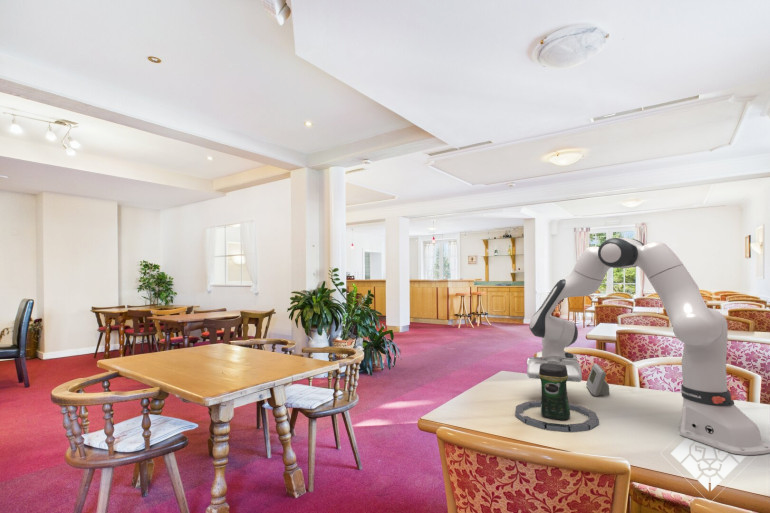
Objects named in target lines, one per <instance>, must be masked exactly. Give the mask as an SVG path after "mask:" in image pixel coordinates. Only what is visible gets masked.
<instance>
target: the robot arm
mask: <svg viewBox="0 0 770 513" xmlns="http://www.w3.org/2000/svg"><path fill="white" fill-rule="evenodd" d="M636 267H637V268H640V270H641V271H642V272H643V273H644V275H645V276H646V278H647V279H648V282H649V283H650V285H651V286H652V288H653V290H654V291H655V292H656V294H657V295H658V298H659V299H660V301H661V303H662V306H663V308H664V309H665V312H666V316H667V317H668V320H669V322H670V324H671V326H672V332H673V334H674V336H675V337H676V338H677V340H679V341H680V342H681V343H683V351H682V358H681V373H682V384H681V389H680V390H681V391H680V392H681V397H682V398H683V400H682V411H681V419H680V424H679V427H678V428H679V435H680V436H681V437H685V438H688V439H689V440H690V439H691V440H692V441H696V442H698V443H702V444H705V445H707V446H710V447H713V448H715V449H719V450H722V451H725V452H727V453H730V454H733V455H735V454H736V455H743V456H755V455H756V456H757V455H765V454H769V453H770V443H767V442H765V441H763V440H762V436H761V431H760V429H759V427H758V425H757V424H756V423H755V422H754V421H753V420H752V419H750V417H748V416H747V415H746V414H745V413H744V412H743V411H742V410H741V409H740V408H739V407H737V405H735V402H734V401H736V400H737V401H738V396H737V395H731V392H730V390H729V389H728V378H727V356H728V353H727V352H728V328H729V327H728V326H729V325H728V321H727V319H726V317H725V316H724V315H723V314H722V313H721V312H720V311H718V310H716V309H713V308H711V307H708V306H707V304H706V302H705V301H704V298H703V296H702V294H701V291H700V289H699V286H698V284H697V283H696V281H695V279H694V277H692V275H691V273H690V272H689V270H688V269H687V267H686V266H685V264H684V263H683V262H682V261H681V259H680V258H679V256H677V254H676V253H675V252H674V251H673V249H671V248H670V247H669V246H668V245H667V244H666V243H665V242H662V241H652V242H649V243H646V244H644V243H643V242H642V241H640V240H638V239H634V238H628V237H612V238H609V239H606V240H604V241H603V242H602V243H601V244H600V246H597V245H596V246H589V247H587V248H585V249H584V250H583V252H582V253H581V255H580V256H579V257H578V260H577V261H576V263H575V265H574V267H573V270H572V271H571V272H570V274H569V275H568V276H567V277H565V278H562V279H559V281H557V283H555V285H554V286H553V288H552V289H551V290H550V292H549V293H548V295H547V297H546V298H544V301H543V302H542V304H541V306H540V307H539V308H538V310H537V311H536V312H535V313H534V314H533V315H532V317H531V318H530V321H529V330H530V332H531V333H532V335H533V336H535V337H537V338H541V344H542V349H541V356H539V357H538V356H537V357H535V356H531V357H528V358H527V359H526V365H527V368H526V375H527V377H528V379H533V380H534V379H536V380H540V377H539V370H540V365H541V364H543V363H546V364H558V365H565V366H566V368H567V373H568V379H567V382H574V383H580V382H582V380H583V374H582V368H581V365H580V363H579V362H578V357H577V355H576V354H575V353H572V352H568V351H565V348H567V347H569V346H571V345H572V344H574V343H576V341H577V339H578V336H579V330H578V326H577V324H576V323H575V322H573V321H571V320H569V319H565V318H560V317H557V316H554V315H552V313H553V312H554V310H556V307H557V306H558V304H560V302H561V301H562V300H563V299H567V298H573V297H574V298H575V297H587V296H591V295H593V294H595V293H596V292H597V291H598V290H599V289H600V287H601V286H602V283H603V281H604V279H605V277H606V274H607V272H608V271H609V270H610V269H611V268H613V269H614V268H615V269H630V268H636Z"/></svg>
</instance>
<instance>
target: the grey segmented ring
mask: <svg viewBox="0 0 770 513" xmlns="http://www.w3.org/2000/svg"><path fill="white" fill-rule="evenodd" d="M531 408H541V399H540V400H531V401H525V402H522V403H520V404H517V405H516V406H515V411H514V412H515V413H514V414H515V418H517V419H518V420H519V421H521V422H523V423H524V424H526V425H529V426H531V425H532V427H535V428H539V429H541V428H542V430H546V431H555V432H564V433H575V432H576V433H577V432H586V431H591V430H593V429H594V428H596V427H597V426H599V425H600V424H599V423H600V419H599V417H598V414H597V413H596V412H595V411H593V410H591V409H588V408H586V407H585V406H582V405H580V404H574V403H570V402H569V408H570V411H574V410H575V411H574V412H578V413H580V414H581V415H583V414H584V416H585V415H586V417H587V416H588V419H587V420H585V421H584V422H578V423H568V424H565V423H556V422H555V423H554V422H547V421H543V420H540V419H535V418H532V417H530V416H529V415H528V414H526V413H524V410H525V411H527V410H530V409H531Z"/></svg>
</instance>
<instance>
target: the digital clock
mask: <svg viewBox="0 0 770 513" xmlns="http://www.w3.org/2000/svg"><path fill="white" fill-rule="evenodd" d="M606 376H607V374H606V372H605V370H604V369H603V368H602V367H601V366H600V365H599V364H598V363H594V364H593V365H592V366H591V369H590V372H589V374H588V378H587V381H586V384H585V385H586V387H587V389H588V390H589V392H590V393H591V394H592V396H594V397H599V396H610V386H609V384H608V382H607V381H606V380H605V379H606Z"/></svg>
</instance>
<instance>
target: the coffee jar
mask: <svg viewBox="0 0 770 513" xmlns="http://www.w3.org/2000/svg"><path fill="white" fill-rule="evenodd" d="M539 377H540V379H539V380H540V385H541V397H540V400H541V407H540V414H541V416H543V417H545V418H548V419H555V420H562V421H563V420H567V419H570V416H571V410H570V408H569V403H570V402H569V398H568V390H567V382H568V381H567V379H568V373H567V368H566V366H565V365H558V364H546V363H543V364H541V365H540V370H539Z"/></svg>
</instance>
